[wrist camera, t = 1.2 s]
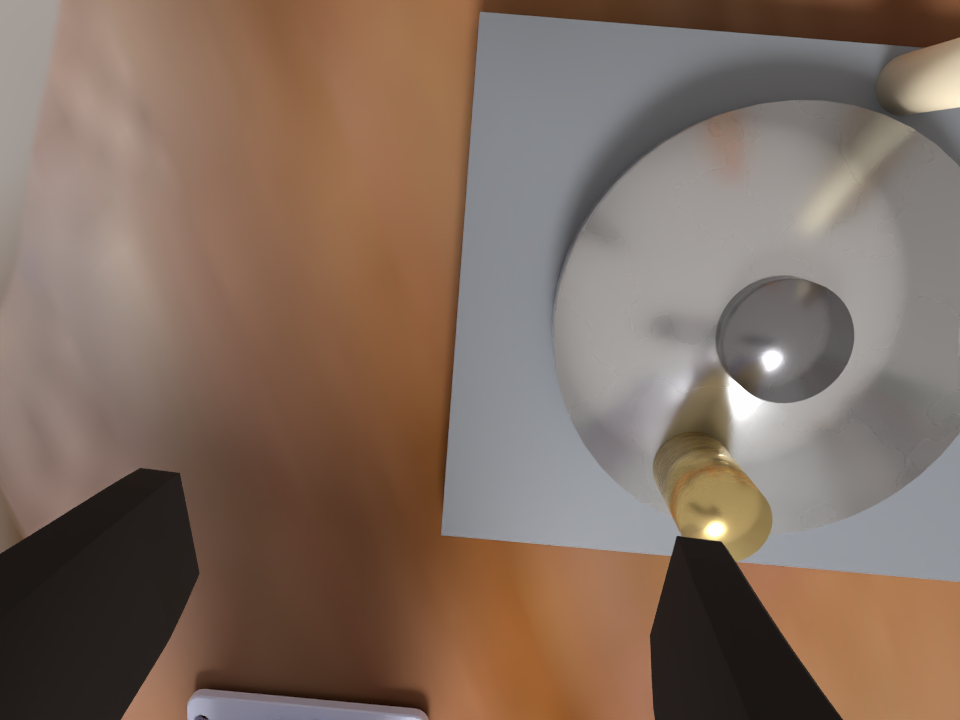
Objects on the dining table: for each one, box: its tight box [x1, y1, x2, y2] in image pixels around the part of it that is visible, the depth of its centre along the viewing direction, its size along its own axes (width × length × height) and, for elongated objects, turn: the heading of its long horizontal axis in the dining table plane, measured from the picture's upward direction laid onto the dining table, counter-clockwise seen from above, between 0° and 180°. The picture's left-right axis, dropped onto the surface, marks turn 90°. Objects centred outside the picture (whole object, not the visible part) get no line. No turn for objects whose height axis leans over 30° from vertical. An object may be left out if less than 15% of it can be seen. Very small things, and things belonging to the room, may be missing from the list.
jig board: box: [441, 12, 960, 582], centre depth 17 cm, size 14×16×5 cm
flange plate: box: [552, 100, 960, 562], centre depth 16 cm, size 11×13×4 cm
